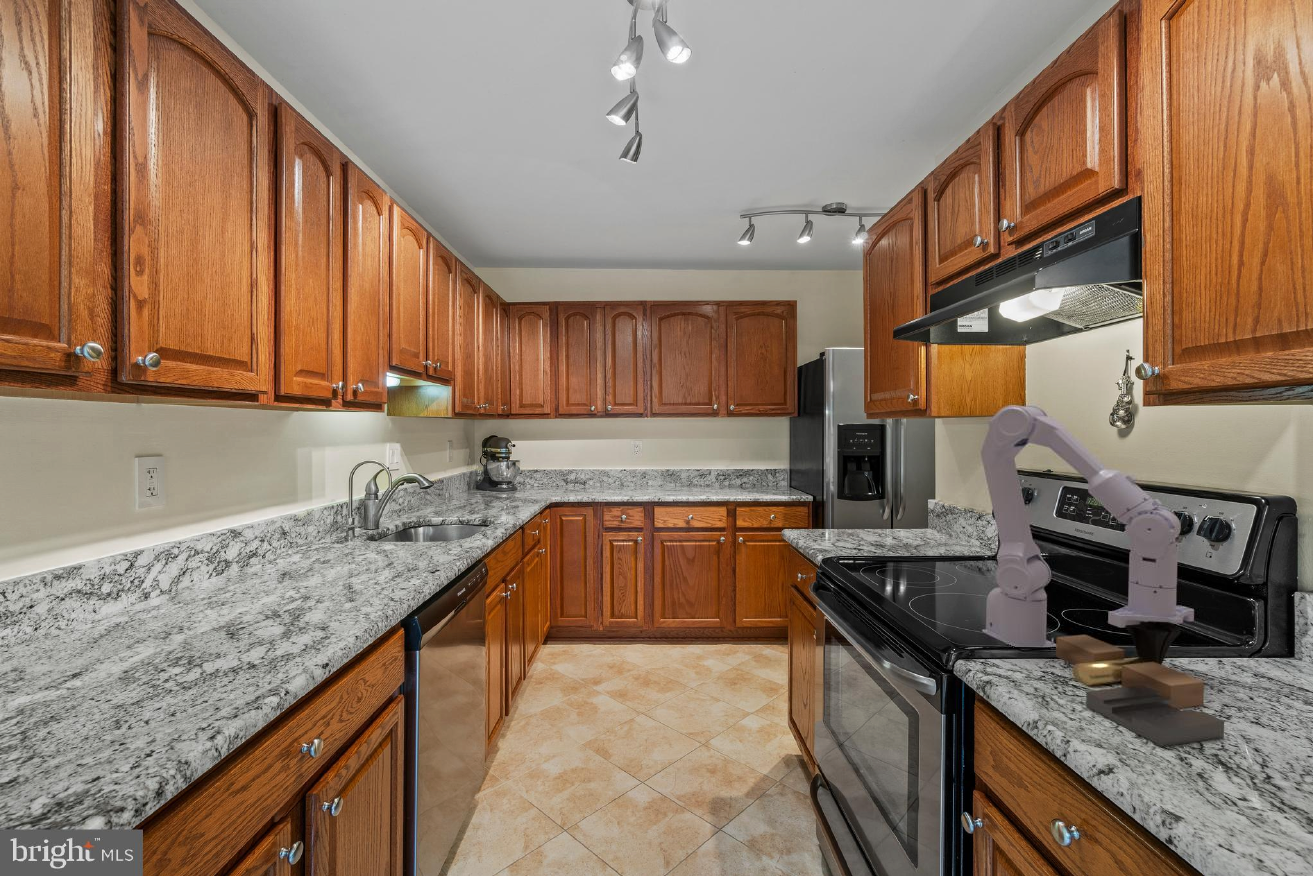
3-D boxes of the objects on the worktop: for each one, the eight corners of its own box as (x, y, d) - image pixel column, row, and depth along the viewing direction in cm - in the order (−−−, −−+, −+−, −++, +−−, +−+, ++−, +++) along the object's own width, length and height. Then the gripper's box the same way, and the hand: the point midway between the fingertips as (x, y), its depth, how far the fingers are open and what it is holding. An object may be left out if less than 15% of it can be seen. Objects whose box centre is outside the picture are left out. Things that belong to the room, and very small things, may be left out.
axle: (1091, 689, 85) (1091, 669, 85) (1072, 680, 88) (1072, 660, 88) (1154, 682, 87) (1154, 662, 87) (1133, 673, 91) (1133, 653, 90)
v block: (1086, 706, 80) (1086, 691, 79) (1142, 699, 81) (1142, 685, 81) (1161, 746, 70) (1162, 729, 70) (1223, 737, 72) (1224, 721, 72)
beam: (1056, 656, 96) (1056, 637, 96) (1084, 653, 98) (1085, 634, 97) (1170, 709, 79) (1170, 685, 79) (1203, 705, 80) (1204, 682, 80)
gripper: (1141, 593, 83) (1139, 682, 84) (1217, 588, 86) (1214, 673, 87) (1096, 580, 90) (1094, 662, 91) (1167, 575, 93) (1165, 655, 94)
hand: (1150, 667), depth 89 cm, fingers closed
